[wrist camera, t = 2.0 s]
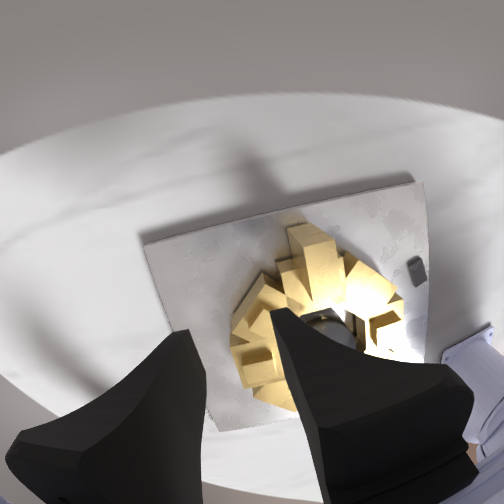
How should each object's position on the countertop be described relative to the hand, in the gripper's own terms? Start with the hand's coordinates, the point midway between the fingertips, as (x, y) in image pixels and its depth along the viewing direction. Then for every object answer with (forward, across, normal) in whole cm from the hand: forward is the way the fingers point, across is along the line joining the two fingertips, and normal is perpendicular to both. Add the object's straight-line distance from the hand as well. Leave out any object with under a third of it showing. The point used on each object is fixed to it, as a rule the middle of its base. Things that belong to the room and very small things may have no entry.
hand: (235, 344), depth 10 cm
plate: (+10, -4, +6) cm, 13 cm away
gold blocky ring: (+9, -5, +6) cm, 11 cm away
